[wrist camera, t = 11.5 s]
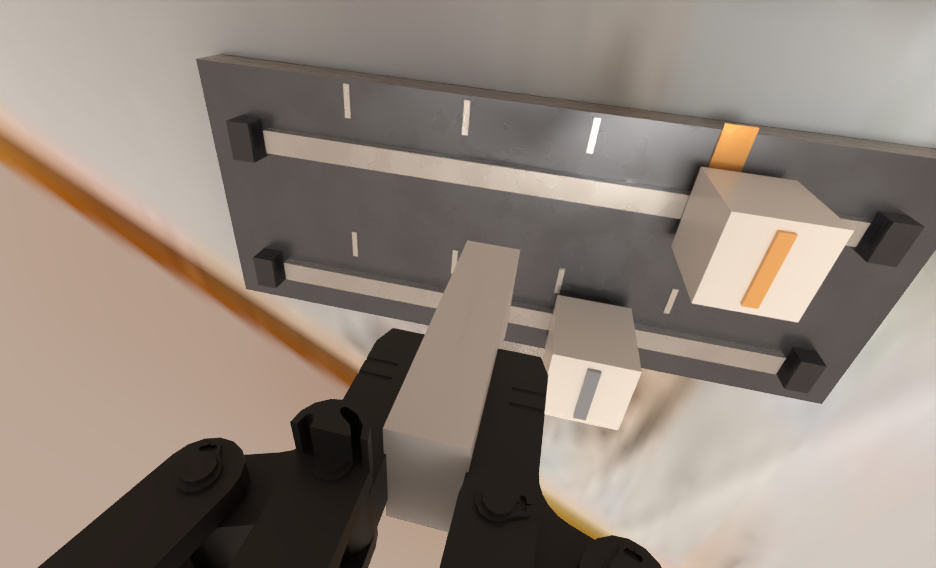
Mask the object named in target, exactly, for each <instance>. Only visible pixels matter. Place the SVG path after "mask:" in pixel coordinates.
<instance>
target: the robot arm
mask: <svg viewBox="0 0 936 568" xmlns="http://www.w3.org/2000/svg"><path fill="white" fill-rule="evenodd" d="M519 254H520V250H519V249H513V248H508V247H502V246H496V245H491V244H485V243H479V242H474V241H468V240H467V242H466V244H465V247H464V249H463V251H462V253H461V255H460V258H459V260H458V262H457V264H456V267H455V269H454V271H453V273H452V276H451V278H450V280H449V282H448V284H447V287H446V289H445V291H444V293H443V296H442V298H441V300H440V302H439V304H438V307H437V309H436V311H435V313H434V316H433V318H432V320H431V322H430V325H429V327H428V329H427V331H426V333H425V335H424V334H419V333H414V332H409V331H405V330H400V329H395V328H393V329H391V330H390V331H389V332H387V333H386V334H385V335H383V336H382V337H381V338H379V339H378V340H377V341H376V343H375V344H374V346H373V348H372V350H371V351H370V353H369V355H368V357H367V360H365V362H364V363H363V365H362V367H361V369H360V372H359V374H357V376H356V377H355V379H354V381H353V383H352V384H351V386H350V388H349V390H348V391H347V393H346V395H345V397H344V399H343V400H337V399H330V400H325V401H321V402H317V403H314V404H312V405H311V406H308V407H307V408H305V409H303V410H302V411H300V412H299V413H298V414H297V415H296V417H295V418H294V419H293V420H292V421H291V422H290V423H291V427H292V432H293V437H294V441H295V446H296V449H294V450H292V451H286V452H280V453H266V454H252V455H244V454H243V451H242V450H241V448H240V447H239V446H238V445H237V444H236V443H234V442H233V441H230V440H227V439H223V438H209V439H203V440H200V441H197V442H194V443H191V444H188V445H187V446H185V447H184V448H182V449H180V450H179V451H177V452H176V453H174V454H173V455H172V456H170V457H169V458H168V459H167V460H166V461H164V462H163V463H162V464H161V465H160V466H158V467H157V468H156V469H155V470H154V471H152V472H151V473H150V474H149V475H148V476H146V477H145V478H144V479H143V480H142V481H140V482H139V483H138V484H137V485H136V486H135V487H133V488H132V489H131V490H130V491H129V492H127V493H126V494H125V495H124V496H123V497H121V498H120V499H119V500H118V501H117V502H115V503H114V504H113V505H112V506H111V507H110V508H108V509H107V510H106V511H105V512H103V513H102V514H101V515H100V516H99V517H97V518H96V519H95V520H94V521H93V522H92V523H90V524H89V525H88V526H87V527H86V528H85V529H83V530H82V531H81V532H80V533H78V534H77V535H76V536H75V537H74V538H72V539H71V540H70V541H69V542H68V543H67V544H65V545H64V546H63V547H62V548H61V549H59V550H58V551H57V552H56V553H55V554H54V555H52V556H51V557H50V558H49V559H47V560H46V561H45V562H44V563H43V564H42V565H40V566H39V567H38V568H368V566H369V564H370V561H371V558H372V555H373V553H374V550H375V547H376V541H377V536H378V532H377V526H378V523H379V521H380V518H381V515H382V513H383V510H384V507H385V505H386V515H387V516H390V517H393V518H397V519H401V520H405V521H409V522H413V523H416V524H420V525H424V526H427V527H432V528H435V529H439V530H443V531H447V532H449V533H448V537H447V541H446V545H445V549H444V553H443V557H442V560H441V564H440V568H661V566H660V564H659V563H658V562H657V561H656V560H655V558H654V557H653V556H652V555H651V554H650V553H649V552H648V551H647V550H646V549H645V548H643V547H642V546H640V545H638V544H637V543H635V542H633V541H631V540H630V539H627V538H622V537H617V536H613V535H612V536H607V537H602V538H597V539H596V540H594V539H592V538H591V537H589V536H587V535H586V534H584V533H582V532H581V531H579V530H578V529H576V528H574V527H573V526H571V525H569V524H568V523H567V522H565V521H564V520H563V519H561V518H560V517H559V516H557V514H556V513H555V512H554V511H553V510H552V509H551V508H550V507H549V505H548V503H547V502H546V500H545V498H544V496H543V495H542V491H541V488H540V484H539V466H540V456H541V446H542V435H543V425H544V415H545V414H544V412H545V405H546V394H547V384H548V373H547V371H546V369H545V366H544V364H543V361H542V359H541V357H537V356H532V355H527V354H522V353H517V352H513V351H508V350H503V349H502V347H503V343H504V338H505V334H506V330H507V325H508V319H509V313H510V307H511V301H512V295H513V289H514V283H515V278H516V272H517V266H518V260H519Z"/></svg>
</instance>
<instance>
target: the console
mask: <svg viewBox="0 0 936 568" xmlns="http://www.w3.org/2000/svg"><path fill="white" fill-rule="evenodd" d="M196 60H197V65H198V69H199V74H200V78H201V83H202V88H203V92H204V97H205V101H206V106H207V111H208V115H209V120H210V124H211V129H212V134H213V138H214V143H215V147H216V152H217V157H218V161H219V166H220V170H221V175H222V180H223V184H224V189H225V193H226V198H227V203H228V207H229V212H230V216H231V221H232V226H233V230H234V235H235V239H236V244H237V249H238V253H239V258H240V262H241V267H242V272H243V276H244V281H245V285H246V289H249V290H254V291H259V292H264V293H269V294H274V295H279V296H284V297H289V298H294V299H299V300H304V301H309V302H314V303H319V304H324V305H329V306H334V307H339V308H344V309H349V310H354V311H359V312H364V313H369V314H374V315H379V316H384V317H389V318H394V319H399V320H404V321H409V322H414V323H419V324H424V325H430V322H431V320H432V318H433V316H434V313H435V311H436V309H437V307H438V304H439V302H440V300H441V298H442V296H443V293H444V291H445V289H446V287H447V284H448V282H449V280H450V278H451V276H452V273H453V271H454V269H455V267H456V264H457V262H458V260H459V258H460V255H461V253H462V251H463V249H464V247H465V244H466V242H467V240H468V241H474V242H479V243H485V244H491V245H496V246H502V247H508V248H513V249H519V250H520V254H519V260H518V266H517V272H516V278H515V283H514V289H513V295H512V301H511V307H510V313H509V319H508V325H507V330H506V334H505V338H504V340H505V341H510V342H515V343H520V344H525V345H530V346H535V347H540V348H545V345H546V341H547V337H548V333H549V328H550V324H551V320H552V316H553V311H554V307H555V303H556V299H557V295H561V296H567V297H572V298H577V299H583V300H588V301H594V302H599V303H605V304H610V305H615V306H621V307H626V308H632V314H633V321H634V327H635V333H636V339H637V346H638V352H639V358H640V364H641V368H645V369H650V370H655V371H660V372H665V373H670V374H675V375H680V376H685V377H690V378H695V379H700V380H705V381H710V382H715V383H720V384H725V385H730V386H735V387H740V388H745V389H750V390H755V391H760V392H765V393H770V394H775V395H780V396H785V397H790V398H795V399H800V400H805V401H810V402H815V403H820V404H822V403H823V401H824V400H825V399H826V397H827V396H828V395H829V393H830V392H831V391H832V389H833V388H834V387H835V385H836V384H837V383H838V381H839V380H840V378H841V377H842V376H843V374H844V373H845V372H846V370H847V369H848V368H849V366H850V365H851V364H852V362H853V361H854V360H855V358H856V357H857V355H858V354H859V353H860V351H861V350H862V349H863V347H864V346H865V345H866V343H867V342H868V341H869V339H870V338H871V337H872V335H873V334H874V332H875V331H876V330H877V328H878V327H879V326H880V324H881V323H882V322H883V320H884V319H885V318H886V316H887V315H888V313H889V312H890V311H891V309H892V308H893V307H894V305H895V304H896V303H897V301H898V300H899V299H900V297H901V296H902V295H903V293H904V292H905V290H906V289H907V288H908V286H909V285H910V284H911V282H912V281H913V280H914V278H915V277H916V276H917V274H918V273H919V272H920V270H921V269H922V267H923V266H924V265H925V263H926V262H927V261H928V259H929V258H930V257H931V255H932V254H933V253H934V251H935V250H936V149H933V148H925V147H918V146H910V145H903V144H895V143H888V142H880V141H872V140H865V139H857V138H850V137H842V136H835V135H827V134H820V133H812V132H804V131H797V130H789V129H782V128H774V127H767V126H759V125H752V124H744V123H736V122H729V121H721V120H714V119H706V118H699V117H691V116H684V115H676V114H668V113H661V112H653V111H646V110H638V109H631V108H623V107H616V106H608V105H600V104H593V103H585V102H578V101H570V100H563V99H555V98H548V97H540V96H532V95H525V94H517V93H510V92H502V91H495V90H487V89H480V88H472V87H464V86H457V85H449V84H442V83H434V82H427V81H419V80H412V79H404V78H396V77H389V76H381V75H374V74H366V73H359V72H351V71H344V70H336V69H328V68H321V67H313V66H306V65H298V64H291V63H283V62H276V61H268V60H260V59H253V58H245V57H238V56H230V55H223V54H221V55H216V56H210V57H204V58H199V59H196ZM701 167H707V168H714V169H721V170H728V171H735V172H742V173H748V174H755V175H762V176H769V177H776V178H783V179H790V180H797V181H798V182H800V183H801V184H802V185H803V186H804V187H805V188H806V189H808V190H809V191H810V192H811V193H812V194H813V195H814V196H816V197H817V198H818V199H819V200H820V201H821V202H822V203H824V204H825V205H826V206H827V207H828V208H829V209H830V210H832V211H833V212H834V213H835V214H836V215H837V216H838V217H839V218H841V219H842V220H843V221H844V222H845V223H846V224H847V225H849V226H850V227H851V228H852V229H853V230H854V232H853V234H852V235H851V237H850V238H849V240H848V242H847V243H846V245H845V247H844V248H843V250H842V252H841V253H840V255H839V256H838V258H837V260H836V261H835V263H834V265H833V266H832V268H831V270H830V271H829V273H828V274H827V276H826V278H825V279H824V281H823V283H822V284H821V286H820V288H819V289H818V291H817V292H816V294H815V296H814V297H813V299H812V301H811V302H810V304H809V306H808V307H807V309H806V310H805V312H804V314H803V315H802V317H801V319H800V320H799V322H792V321H787V320H781V319H775V318H770V317H764V316H759V315H753V314H748V313H742V312H737V311H731V310H726V309H720V308H715V307H709V306H703V305H698V304H692V303H691V300H690V298H689V295H688V292H687V289H686V286H685V283H684V281H683V278H682V275H681V272H680V269H679V267H678V264H677V261H676V258H675V255H674V252H673V250H672V247H671V245H672V243H673V240H674V237H675V235H676V232H677V229H678V227H679V224H680V221H681V219H682V216H683V213H684V211H685V208H686V205H687V203H688V200H689V197H690V195H691V192H692V189H693V187H694V184H695V181H696V179H697V176H698V173H699V171H700V168H701Z"/></svg>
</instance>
